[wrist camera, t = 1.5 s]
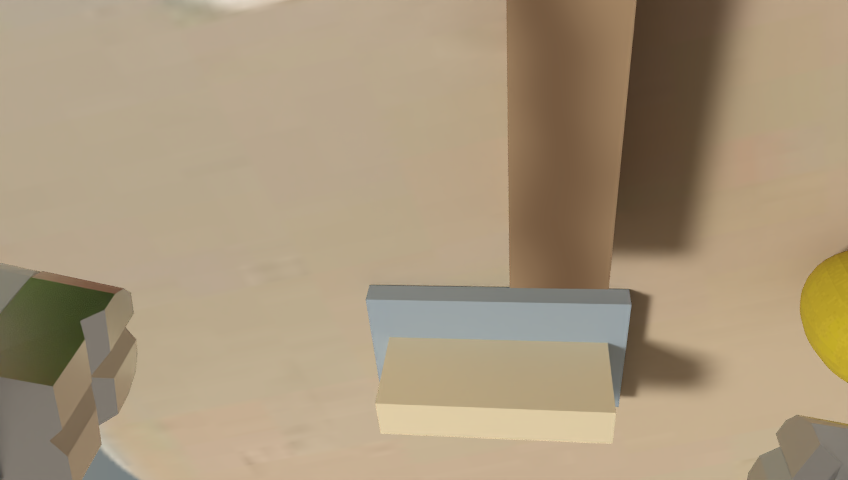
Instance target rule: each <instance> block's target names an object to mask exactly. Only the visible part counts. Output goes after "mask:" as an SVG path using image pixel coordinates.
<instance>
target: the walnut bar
mask: <svg viewBox="0 0 848 480" xmlns="http://www.w3.org/2000/svg"><path fill="white" fill-rule="evenodd" d="M636 1H637V0H507V87H508V176H509V265H510V288H547V289H609V280H610V269H611V259H612V249H613V238H614V228H615V218H616V207H617V197H618V187H619V176H620V166H621V156H622V145H623V135H624V125H625V114H626V104H627V94H628V83H629V73H630V63H631V52H632V42H633V32H634V21H635V11H636Z"/></svg>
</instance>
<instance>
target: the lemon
mask: <svg viewBox="0 0 848 480" xmlns="http://www.w3.org/2000/svg"><path fill="white" fill-rule="evenodd" d="M800 315H801V319H802V323H803V327H804V331H805V334H806V336H807V339H808V341H809V343H810V344H811V346H812V347H813V349H814V350H815V352H816V353H817V354H818V356H819V357H820V358H821V360H822V361H823V362H824V363H825V365H826V366H827V367H828V368H829V369H830V370H831V371H832V372H833V373H834V374H836V375H837V376H838V377H840V378H841V379H843V380H844V381H846V382H847V383H848V251H845V252H842V253H838V254H836V255H834V256H832V257H830V258H828V259H826V260H825V261H823V262H822V263H821V264H820V265H818V266H817V267H816V268H815V269H814V271H813V272H812V273H811V274H810V275H809V277H808V278H807V280H806V283H805V285H804V287H803V289H802V293H801V301H800Z"/></svg>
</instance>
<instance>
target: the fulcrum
mask: <svg viewBox="0 0 848 480" xmlns="http://www.w3.org/2000/svg"><path fill="white" fill-rule="evenodd" d="M366 304H367V310H368V316H369V322H370V328H371V334H372V340H373V346H374V352H375V358H376V364H377V370H378V376H379V382H380V383H379V388H378V393H377V398H376V402H375V405H376V411H377V417H378V422H379V428H380V434H402V435H424V436H447V437H469V438H491V439H514V440H536V441H558V442H581V443H603V444H612V442H613V434H614V426H615V419H616V407H618V406H619V398H620V391H621V383H622V375H623V367H624V359H625V352H626V344H627V336H628V328H629V320H630V313H631V305H632V304H631V299H630V293H629V289H547V288H510V287H452V286H390V285H370V286H369V290H368V293H367V297H366Z"/></svg>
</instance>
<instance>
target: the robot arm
mask: <svg viewBox="0 0 848 480" xmlns="http://www.w3.org/2000/svg"><path fill="white" fill-rule="evenodd" d="M133 314H134V311H133V304H132V297H131V292H129V291H127V290H125V289H124V288H119V287H114V286H110V285H105V284H100V283H96V282H91V281H86V280H82V279H77V278H72V277H68V276H63V275H58V274H54V273H49V272H44V271H42V272H40V271H35V270H31V269H26V268H21V267H17V266H12V265H8V264H3V263H0V480H82V478H83V477H84V475H85V473H86V471H87V469H88V468H89V466H90V464H91V462H92V460H93V459H94V457H95V455H96V453H97V452H98V450H99V448H100V446H101V437H100V430H99V425H100V424H102V423H104V422H105V421H107V420H109V419H111V418H112V417H114V416H116V415H117V414H118V413H119V411H120V410H121V408H122V406H123V404H124V402H125V400H126V398H127V396H128V394H129V391H130V388H131V385H132V381H133V378H134V375H135V372H136V363H137V341H136V339H135V337H134V336H133V335H132V334H131V333H130V332H129V331H128V330H127V328H126V325H127V323H128V322H129V320H130V318H131V317H132V315H133ZM776 436H777V439H778V442H779V446H780V447H778V448H776V449H774V450H772V451H769V452H767V453H765V454H763V455H760V456H759V458H758V459H757V461H756V462H755V464H754V465H753V467H752V468H751V470H750V471H749V473H748V478H747V480H848V424H845V423H839V422H834V421H828V420H823V419H817V418H811V417H806V416H800V415H796V416H794V417H792V418H790V419H788V420H786V421H785V422H784V424H783V425H782V426H781V428H780V429H779V430H778V432H777V433H776Z"/></svg>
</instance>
